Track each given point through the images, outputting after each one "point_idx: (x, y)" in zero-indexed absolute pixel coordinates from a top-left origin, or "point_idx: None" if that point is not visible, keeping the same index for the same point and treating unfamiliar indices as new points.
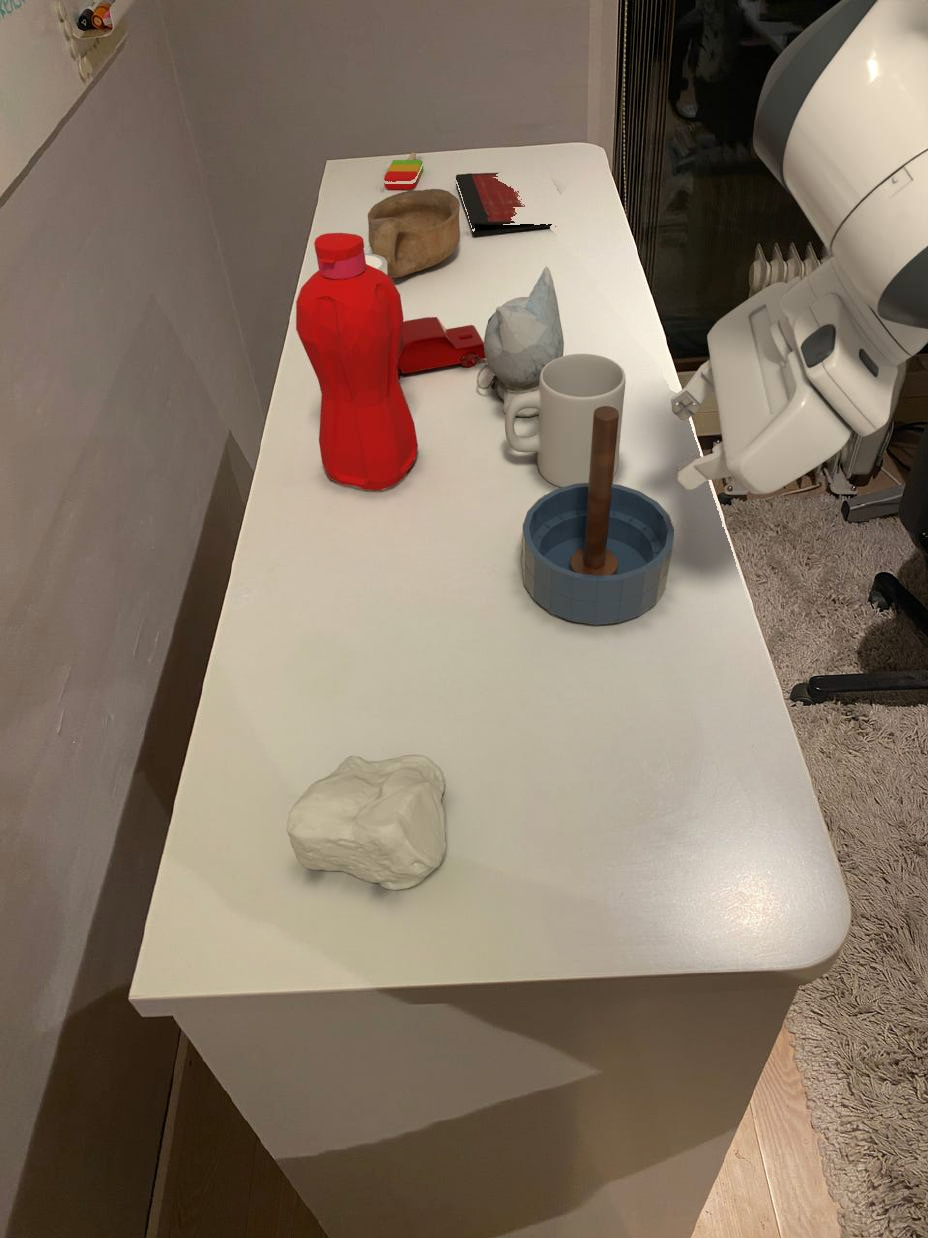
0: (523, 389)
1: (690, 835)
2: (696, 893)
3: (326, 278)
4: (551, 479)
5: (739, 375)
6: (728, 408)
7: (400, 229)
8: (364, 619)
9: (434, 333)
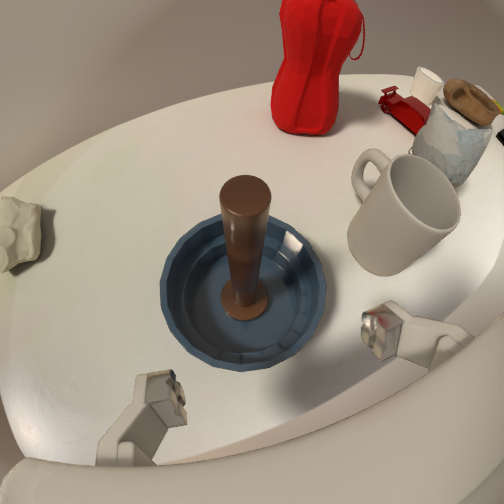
0: None
1: (44, 405)
2: (23, 406)
3: None
4: (349, 226)
5: (354, 500)
6: (197, 491)
7: (464, 88)
8: (152, 165)
9: (420, 111)
